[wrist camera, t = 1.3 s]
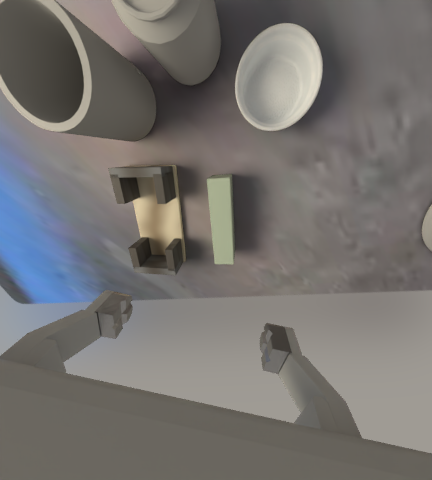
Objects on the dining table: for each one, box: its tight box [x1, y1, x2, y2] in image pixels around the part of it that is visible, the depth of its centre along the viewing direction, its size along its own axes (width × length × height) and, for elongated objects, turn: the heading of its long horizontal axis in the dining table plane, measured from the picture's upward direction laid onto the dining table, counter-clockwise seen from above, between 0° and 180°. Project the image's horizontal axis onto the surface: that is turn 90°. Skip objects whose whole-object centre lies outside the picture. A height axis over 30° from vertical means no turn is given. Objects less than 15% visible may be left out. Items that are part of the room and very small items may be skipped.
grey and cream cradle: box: [108, 165, 186, 275], centre depth 30 cm, size 8×17×5 cm, turn 1°
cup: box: [0, 0, 156, 141], centre depth 20 cm, size 9×9×12 cm
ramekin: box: [235, 23, 323, 131], centre depth 21 cm, size 9×9×4 cm
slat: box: [207, 174, 235, 264], centre depth 28 cm, size 3×13×5 cm, turn 4°
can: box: [111, 0, 221, 85], centre depth 17 cm, size 8×8×12 cm
